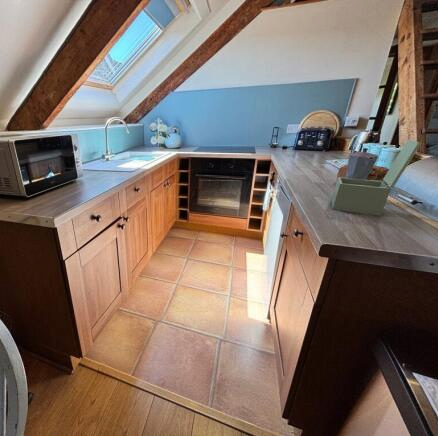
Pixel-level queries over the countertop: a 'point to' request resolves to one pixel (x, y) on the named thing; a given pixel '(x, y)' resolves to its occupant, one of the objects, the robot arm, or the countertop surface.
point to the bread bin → (360, 196)
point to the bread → (375, 174)
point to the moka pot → (360, 164)
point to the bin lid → (401, 162)
